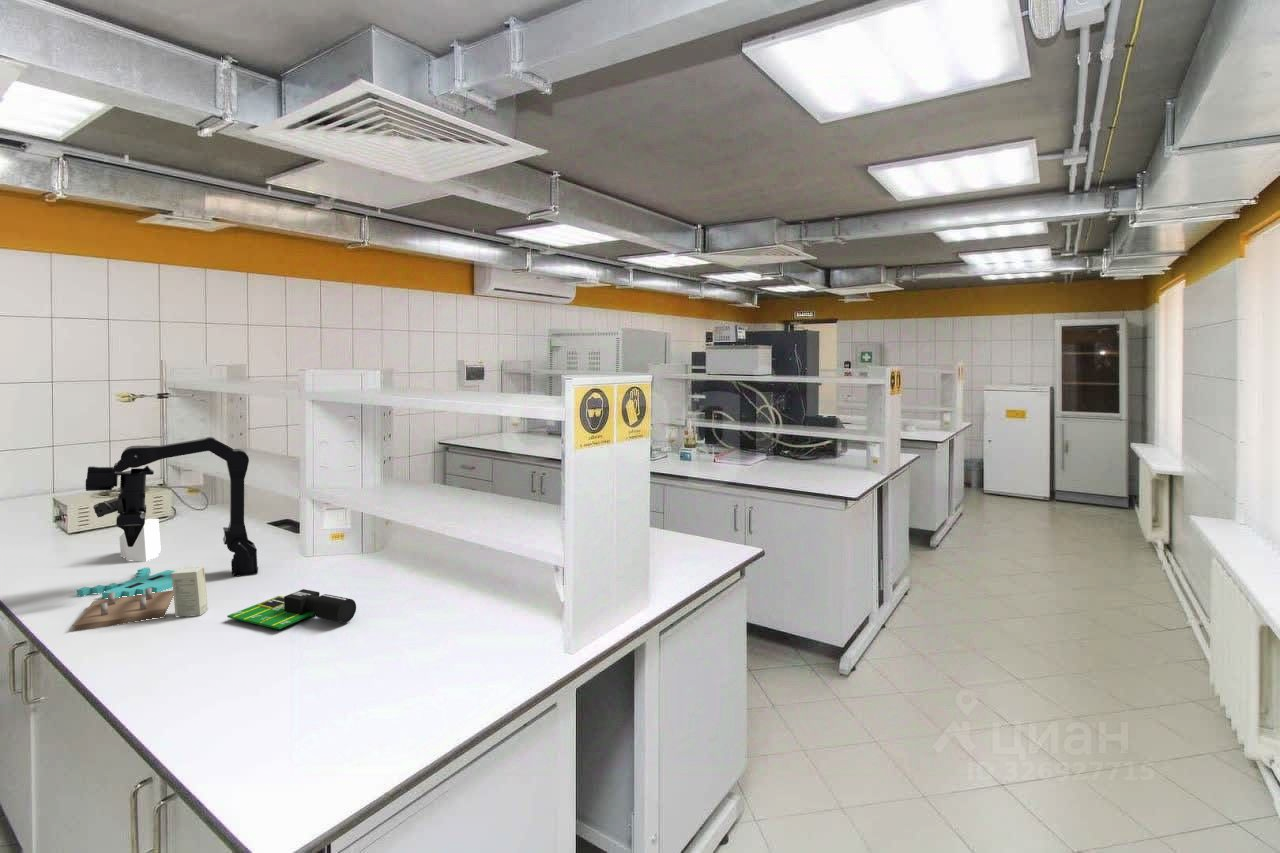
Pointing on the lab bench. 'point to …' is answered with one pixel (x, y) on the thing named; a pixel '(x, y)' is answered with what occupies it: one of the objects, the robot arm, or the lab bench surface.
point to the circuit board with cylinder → (297, 609)
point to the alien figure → (133, 584)
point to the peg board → (124, 609)
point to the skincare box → (189, 591)
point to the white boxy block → (143, 543)
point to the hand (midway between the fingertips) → (131, 542)
